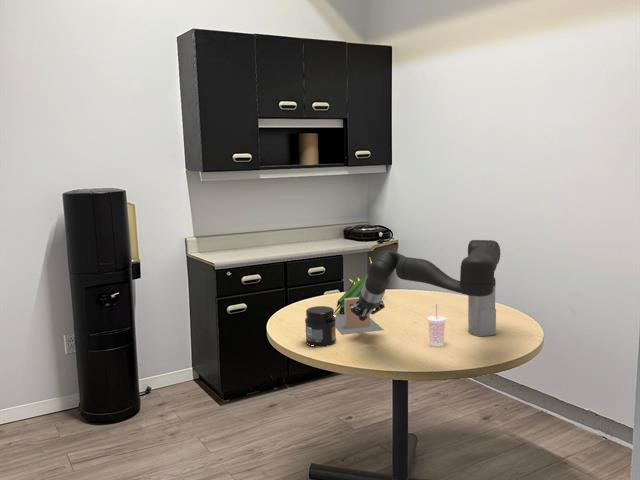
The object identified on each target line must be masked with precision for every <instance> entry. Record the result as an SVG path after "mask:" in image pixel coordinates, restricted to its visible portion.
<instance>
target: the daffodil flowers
mask: <svg viewBox="0 0 640 480" xmlns="http://www.w3.org/2000/svg"><path fill="white" fill-rule="evenodd" d="M369 261H370V264H371V263H372V262H373V261H372V259H371V258H369ZM353 275H354V279H353V280H352V279H349V281H350V282H351V283H350V286H349V287H348V289H347V290H346V291H345V292H344V293H343V295H342V296H341V297H340V298H339V299H338V300H337V302H336V303H337V305H336V309H335V310H334V314H337V311H338V314H342V313H343V314H344V298H353V297H359V296H360V293H361V291H362V288H363V286H364V284H365V282H366V280H367V277H368V272H367V273H366V275H365V276H364V278H361V279H360V278H359V277H358V276H357V274H356V273H355V272H354V273H353Z"/></svg>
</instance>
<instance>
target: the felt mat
mask: <svg viewBox="0 0 640 480" xmlns="http://www.w3.org/2000/svg"><path fill="white" fill-rule="evenodd" d="M343 313H344V312H342V313H334V314H335V315H336V317H335V319H336V321H335V330H337V331H338V332H339V333H340V335H342V336H343V335H353V334H361V333H362V334H363V333H370V332H378V331H379V332H380V331H385V329H384V328H383V327H381V326H380V325H379V324H378V323H376V321H374V319H372V318H371V317H370V326H368V327H359V328H350V329H346V328H345V313H344V314H343Z"/></svg>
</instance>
